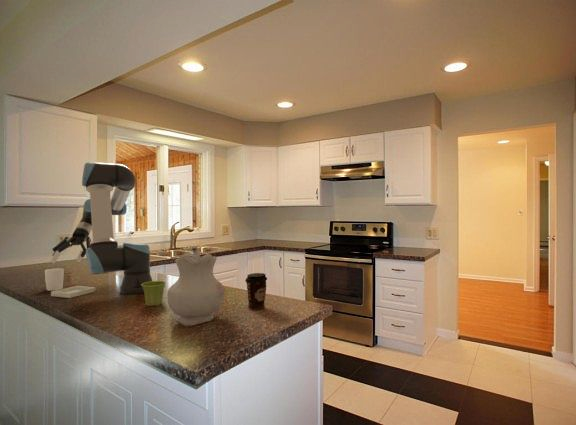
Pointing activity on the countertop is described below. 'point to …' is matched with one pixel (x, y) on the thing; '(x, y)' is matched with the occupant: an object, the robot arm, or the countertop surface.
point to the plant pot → (153, 292)
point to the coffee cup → (256, 290)
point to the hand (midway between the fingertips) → (64, 261)
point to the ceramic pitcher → (195, 289)
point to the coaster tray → (73, 291)
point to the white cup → (54, 278)
